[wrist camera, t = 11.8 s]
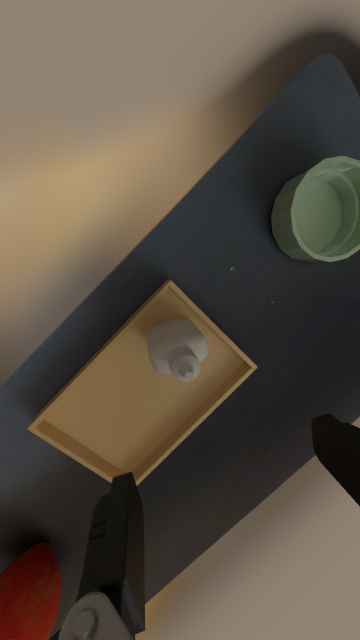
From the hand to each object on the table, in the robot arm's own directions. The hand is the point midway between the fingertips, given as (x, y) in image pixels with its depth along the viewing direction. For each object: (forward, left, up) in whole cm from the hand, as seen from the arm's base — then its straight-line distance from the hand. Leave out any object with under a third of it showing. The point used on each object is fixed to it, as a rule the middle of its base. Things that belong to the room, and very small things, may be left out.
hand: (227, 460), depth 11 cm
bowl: (-9, +19, -21) cm, 30 cm away
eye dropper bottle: (0, 0, -21) cm, 21 cm away
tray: (+7, -5, -21) cm, 23 cm away
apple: (+27, -25, -22) cm, 42 cm away
